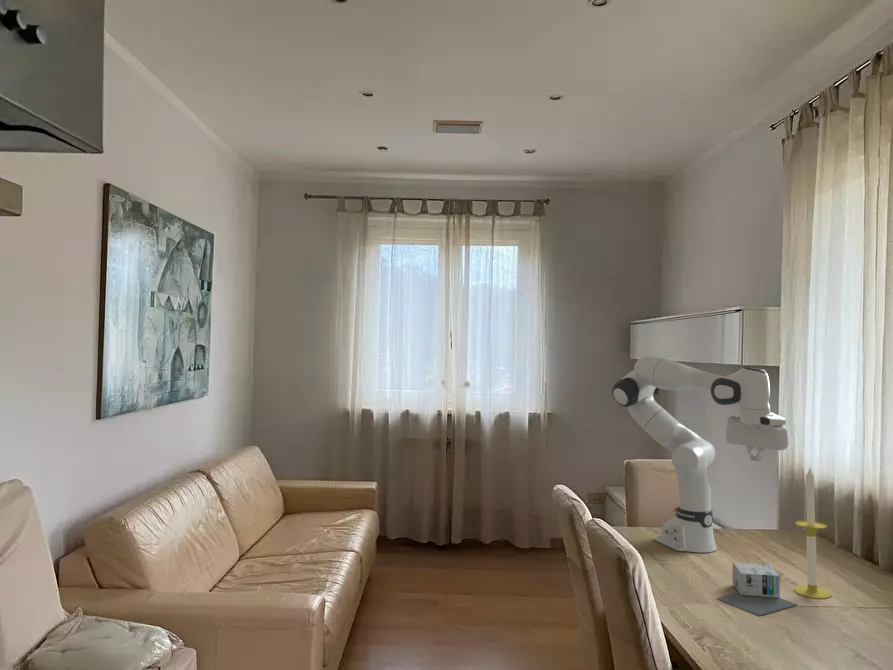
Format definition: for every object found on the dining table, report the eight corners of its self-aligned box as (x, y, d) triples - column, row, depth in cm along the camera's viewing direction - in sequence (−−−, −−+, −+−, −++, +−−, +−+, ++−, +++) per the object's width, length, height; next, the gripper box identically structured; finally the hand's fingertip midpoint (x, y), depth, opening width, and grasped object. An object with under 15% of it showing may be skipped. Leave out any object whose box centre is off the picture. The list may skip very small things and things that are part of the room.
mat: (717, 599, 189) (717, 597, 189) (753, 589, 196) (753, 588, 196) (759, 616, 176) (759, 615, 176) (797, 605, 184) (797, 604, 184)
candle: (836, 600, 187) (833, 470, 188) (797, 596, 190) (795, 468, 191) (826, 588, 196) (824, 464, 197) (790, 585, 199) (787, 463, 200)
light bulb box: (740, 595, 190) (780, 599, 188) (740, 572, 190) (780, 575, 188) (732, 583, 200) (769, 586, 198) (732, 561, 201) (769, 564, 198)
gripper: (721, 415, 215) (721, 457, 215) (777, 421, 197) (778, 466, 196) (734, 414, 218) (734, 455, 217) (790, 419, 200) (791, 464, 199)
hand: (756, 460), depth 207 cm, fingers closed
